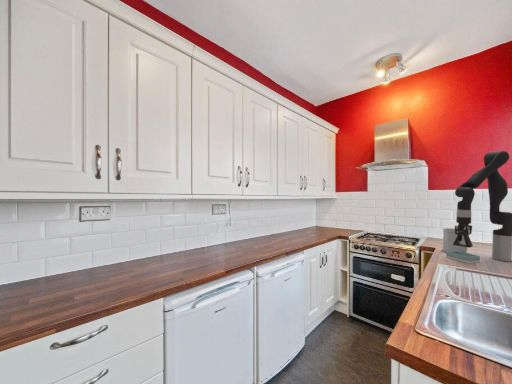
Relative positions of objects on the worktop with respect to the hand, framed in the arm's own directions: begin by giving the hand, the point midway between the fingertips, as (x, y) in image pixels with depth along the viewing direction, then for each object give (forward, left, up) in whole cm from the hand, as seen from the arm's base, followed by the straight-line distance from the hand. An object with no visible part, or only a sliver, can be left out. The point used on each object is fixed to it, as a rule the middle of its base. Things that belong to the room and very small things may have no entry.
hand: (463, 240), depth 158 cm
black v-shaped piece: (0, 0, -4) cm, 4 cm away
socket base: (0, 0, -13) cm, 13 cm away
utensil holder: (-16, -15, -13) cm, 25 cm away
